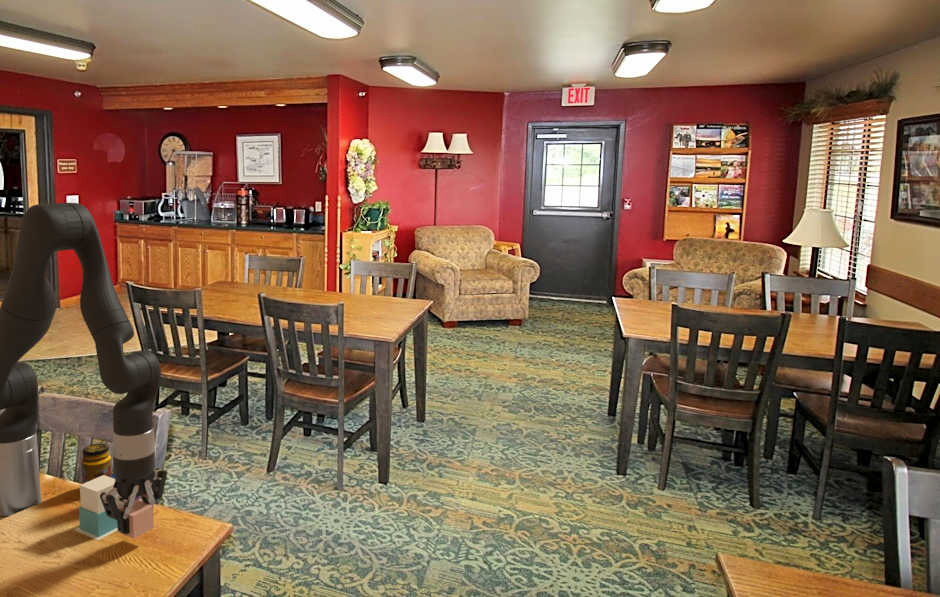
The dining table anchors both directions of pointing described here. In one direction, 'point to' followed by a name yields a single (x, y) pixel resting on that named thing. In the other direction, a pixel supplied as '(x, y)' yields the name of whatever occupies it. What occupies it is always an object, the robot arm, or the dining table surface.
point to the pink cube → (140, 519)
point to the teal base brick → (96, 522)
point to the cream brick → (95, 493)
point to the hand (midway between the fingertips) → (136, 526)
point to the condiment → (95, 462)
